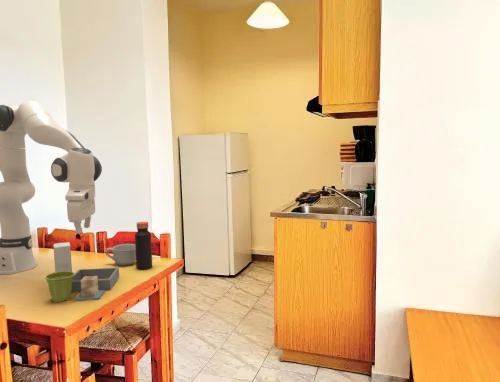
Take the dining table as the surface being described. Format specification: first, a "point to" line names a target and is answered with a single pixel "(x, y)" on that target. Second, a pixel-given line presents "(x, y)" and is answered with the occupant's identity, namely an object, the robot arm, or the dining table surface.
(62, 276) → the plant pot
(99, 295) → the pad
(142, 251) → the bottle
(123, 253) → the teacup
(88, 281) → the block
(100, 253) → the dining table surface
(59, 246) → the small box
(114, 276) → the bin
